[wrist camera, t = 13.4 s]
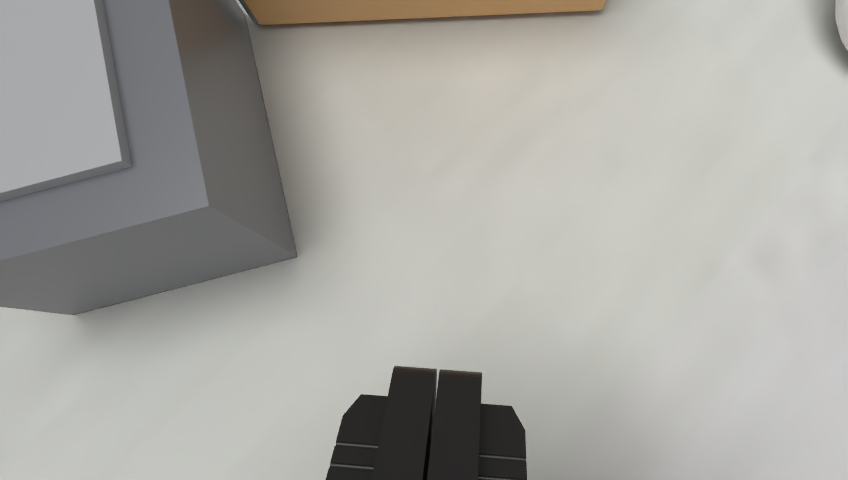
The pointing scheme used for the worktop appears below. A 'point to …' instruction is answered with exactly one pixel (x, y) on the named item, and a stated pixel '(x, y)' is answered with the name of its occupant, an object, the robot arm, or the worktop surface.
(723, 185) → the worktop surface
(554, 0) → the side door
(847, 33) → the white decorative knot
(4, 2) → the grey matte box
